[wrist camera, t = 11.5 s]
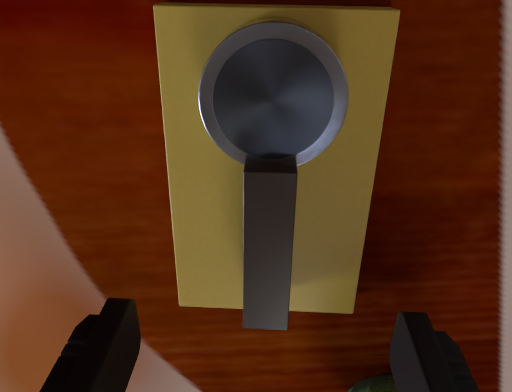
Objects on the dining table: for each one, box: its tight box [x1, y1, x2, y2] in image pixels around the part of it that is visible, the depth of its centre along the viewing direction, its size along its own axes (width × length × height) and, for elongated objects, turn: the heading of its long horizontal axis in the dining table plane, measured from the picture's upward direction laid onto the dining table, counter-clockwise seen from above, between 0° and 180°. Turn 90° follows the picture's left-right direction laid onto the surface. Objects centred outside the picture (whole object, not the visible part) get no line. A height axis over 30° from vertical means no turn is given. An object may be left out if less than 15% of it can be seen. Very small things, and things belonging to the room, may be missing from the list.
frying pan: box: [198, 16, 349, 330], centre depth 19 cm, size 14×6×3 cm, turn 179°
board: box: [153, 2, 400, 314], centre depth 22 cm, size 16×10×2 cm, turn 179°
